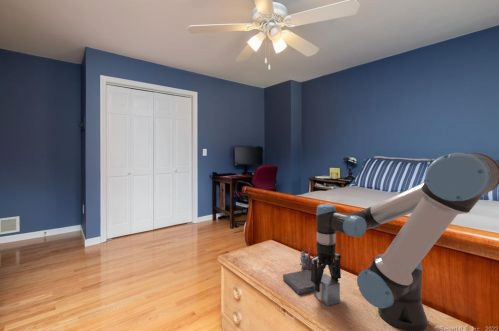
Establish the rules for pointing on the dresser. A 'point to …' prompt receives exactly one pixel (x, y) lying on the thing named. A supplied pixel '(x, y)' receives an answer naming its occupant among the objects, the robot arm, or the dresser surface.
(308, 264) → the grey red bumpy cluster
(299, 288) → the steel plate
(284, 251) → the dresser surface
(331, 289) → the block
